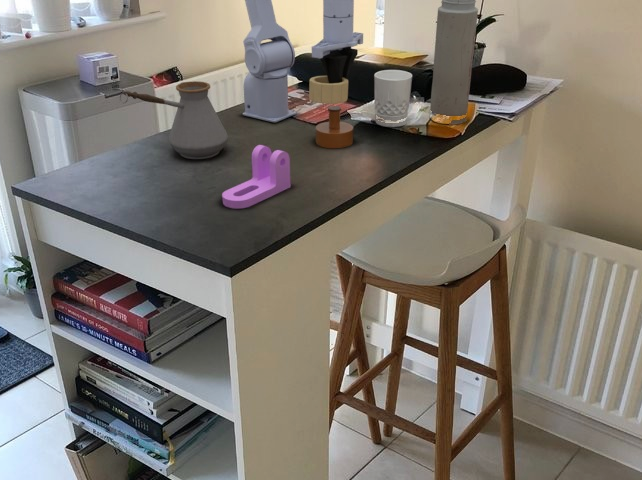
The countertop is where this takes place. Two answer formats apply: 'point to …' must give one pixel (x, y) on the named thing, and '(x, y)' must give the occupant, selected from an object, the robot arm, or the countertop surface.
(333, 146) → the wooden peg base
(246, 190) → the bracket
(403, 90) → the white cup
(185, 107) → the coffee pot
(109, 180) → the countertop surface
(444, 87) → the thermos bottle
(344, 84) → the ring
